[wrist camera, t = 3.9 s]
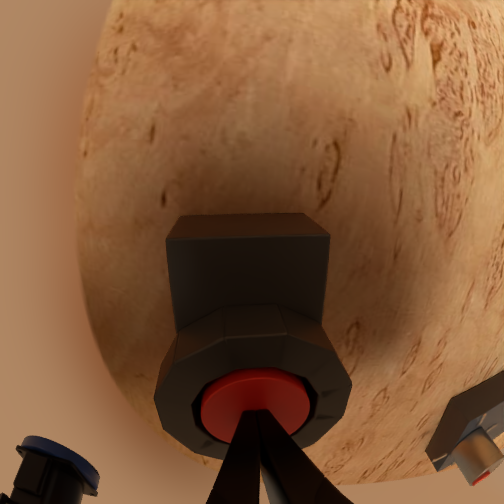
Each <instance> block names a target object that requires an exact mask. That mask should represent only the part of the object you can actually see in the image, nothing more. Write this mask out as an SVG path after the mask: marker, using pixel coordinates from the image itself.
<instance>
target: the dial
mask: <svg viewBox="0 0 504 504" xmlns="http://www.w3.org/2000/svg"><path fill="white" fill-rule="evenodd" d="M451 456H452V458H453V459H454V461H455V462H456V464H457V465H458V467H459V469H460V470H461V472H462V473H463V475H464V476H465V478H466V480H467V482H468V483H469V485H470V486H474V485H475V484H477V483H479V482H480V481H482V480H483V479H485V478H486V477H487V476H488V475H489V474H490V473H492V472H493V471H494V470H495V469H496V468H497V467H498V466H499V465H500V464H501V462H502V461H503V460H504V455H503V454H502V452H501V451H500V450H499V448H498V447H497V446H496V444H495V443H494V442H493V440H492V439H491V438H490V436H489V435H488V434H487V432H486V431H485V430H484V429H483V428H479V429H477V430H475V431H474V432H472V433H471V434H469V435H468V436H467V437H465V438H464V439H463V440H462V441H461V442H460V443H459V444H458V445H457V446H456V447H455V448H454V450H453V451H452V453H451Z"/></svg>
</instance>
